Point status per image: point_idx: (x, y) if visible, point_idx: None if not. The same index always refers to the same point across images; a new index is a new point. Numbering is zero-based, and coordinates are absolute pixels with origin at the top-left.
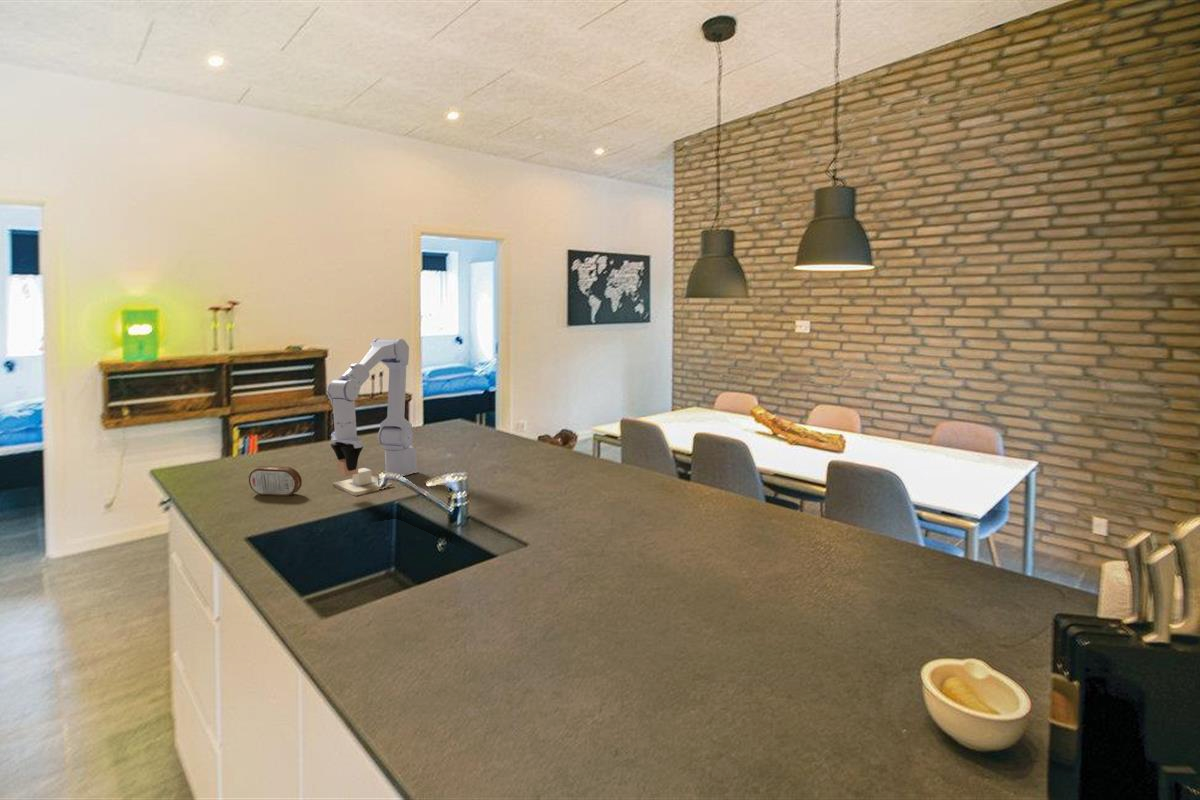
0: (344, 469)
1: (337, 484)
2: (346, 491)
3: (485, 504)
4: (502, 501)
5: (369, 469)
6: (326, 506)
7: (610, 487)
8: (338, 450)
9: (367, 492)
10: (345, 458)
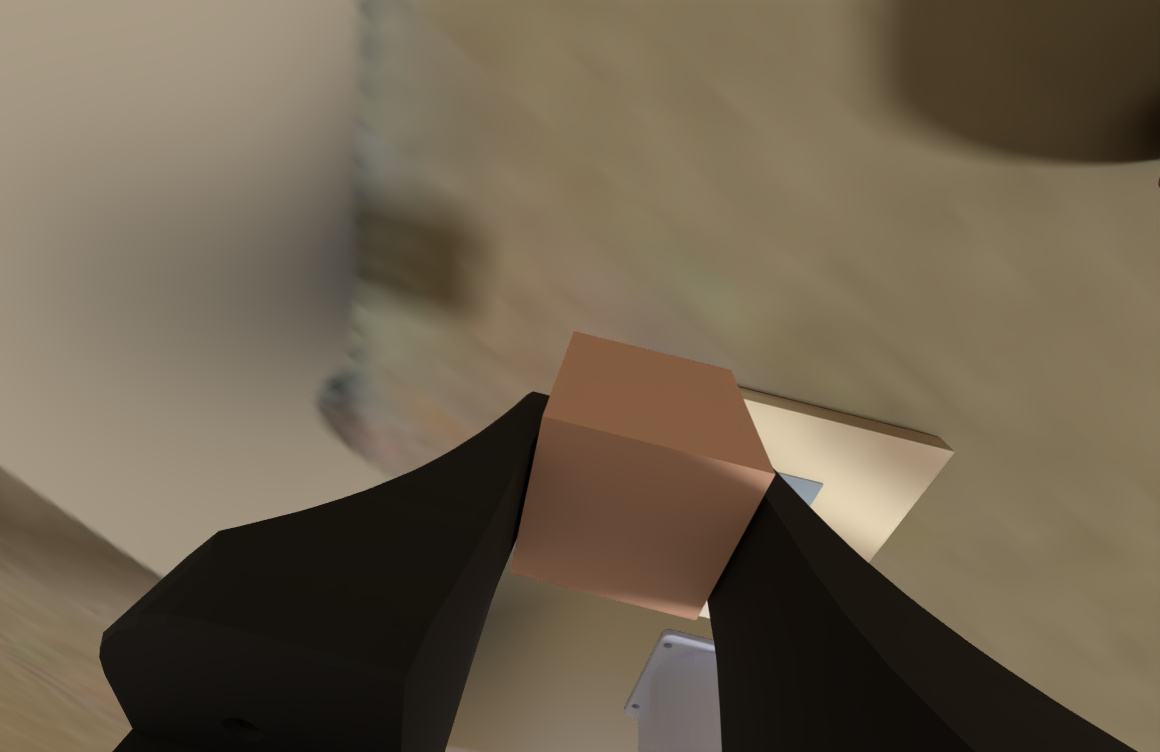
0: (561, 366)
1: (886, 439)
2: (740, 389)
3: (33, 512)
4: (38, 557)
5: (707, 617)
6: (606, 68)
7: (15, 724)
8: (830, 662)
9: None
10: (501, 473)
